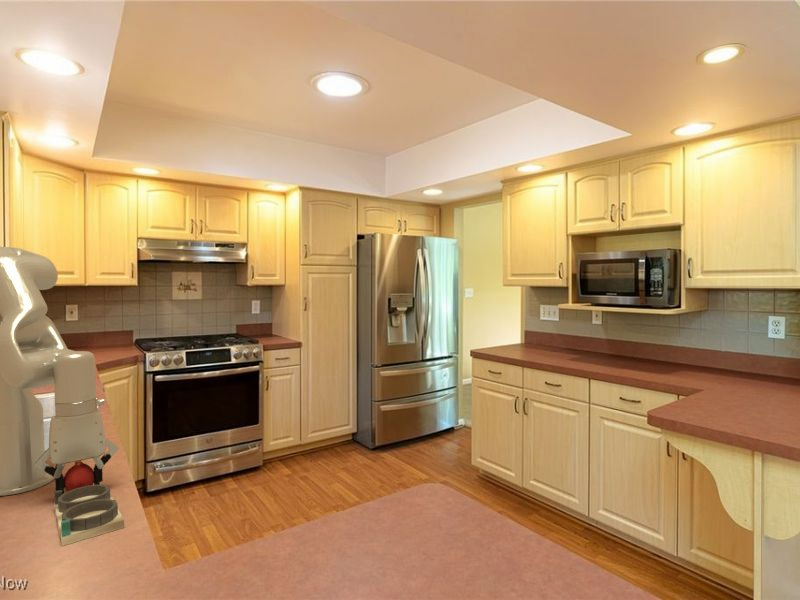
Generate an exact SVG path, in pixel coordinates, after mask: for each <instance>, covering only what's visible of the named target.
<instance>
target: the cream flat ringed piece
mask: <svg viewBox="0 0 800 600" xmlns="http://www.w3.org/2000/svg"><path fill="white" fill-rule="evenodd" d="M53 504H54V505H53V506H54V514H55V519H56V523H57V527H58V533H59V538H60V542H61V547H63V546H67V545H70V544H73V543H77V542H81V541H84V540H87V539H91V538H94V537H99V536H101V535H105V534H107V533H111V532H114V531H119V530H121V529H124V528H125V519H124V518H123V515H122V514H121V511H120V510H119V506H118V504H119V503H118V502H117V500H116V499H114V497H113V496H112V494H111V489H110V487H109V485H106V484H100V485H94V484H93V485H89V486H84V487H80V488H76V489H73V490H71V491H66V492H64V494H62V490H59V491H56V490H54V503H53Z"/></svg>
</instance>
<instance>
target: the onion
mask: <svg viewBox="0 0 800 600" xmlns="http://www.w3.org/2000/svg"><path fill="white" fill-rule="evenodd" d="M63 477H64V490H65V491H66V492H68V491H71V490H73V489H76V488H80V487H84V486H89V485H94V481H95V473H94V469H93V468H92V466H89V465H88V464H87V463H83V461H82V460H81V461H76V462H74V465H72V466H71V467H69V469H68V470H67V471H66V472H65V473H64V475H63Z"/></svg>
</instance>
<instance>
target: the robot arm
mask: <svg viewBox="0 0 800 600" xmlns="http://www.w3.org/2000/svg"><path fill="white" fill-rule="evenodd" d="M58 274H59V273H58V270H57V268H56V265H55V263H53V262H52V260H50V258H48V257H46V256H43V255H41V254H37V253H35V252H32V251H28V250H26V249H22V248H19V247H10V246H0V497H1V496H11V495H18V494H21V493H25V492H26V493H27V492H29V491H33V490H36V489H39V488H41V487H45V485H47V484H49V483H51V482H52V481H53V480H54V485H55V486H54V487H55V490H54V491H59V490H62V494H64V493H65V488H64V475H63V470H64V468H65V465H66V464H70V463H75V462H76V461H81V462H82V461H85V460H89V459H93V461H94V463H95V464H94V467H93V468H92V469H93V471H94V473H95V481H94V483H93V485H101V484H100V483H102V482H103V468H104V467H105V465H106V464H107V463H108V462H109V461H110V459H111V458H112V457H113V456H114V455H115V454H116V453H117V452H118V451H119V450H120V449H119V446H118V445H116V444H115V443H114V442H112V441H111V440H109V439H107V437H106V436H105V435H106V433H105V428H104V427H105V425H104V422H103V415H102V413H101V410H100V409H98V408H99V407H101V406H105V399H103V398H102V399H100V398H99V399H98V398H97V381H96V380H97V379H96V377H97V376H96V358H95V355H94V353H92V352H90V351H88V350H87V351H85V350H84V351H83V350H73V349H69V348H68V347H67V345H66V343H65V341H64V340H63V338H62V336H61V334H60V332H59V330H58V329H57V327H56V325H55V324H54V322H53V320H51V318H50V317H48V316H47V315H46V314H47V312H48V305H47V303H46V301H45V299H44V296H42V295H43V294H42V293H41V290H42V291H44V290H49V289H52V288H54V286H56V284H57V281H58V279H59V278H58ZM47 386H53V388H54V389H53V390H54V409H55V413H54V414H55V415H53V416H51V418H50V422H49V429H48V430H49V431H48V432H49V433H48V447H47V449H46V450H45V424H44V423H45V422H44V408H43V405H42V403H41V401H40V400H39V399H38V397H36V396H35V395H34V393H33V392H32V390H34V389H38V388H42V387H47ZM107 448H108V450H106V449H107ZM106 451H107V452H106ZM100 456H101V457H100ZM47 460H50V464H52V465H54V466H52V465H50V464H48V463H46V461H47Z"/></svg>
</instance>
